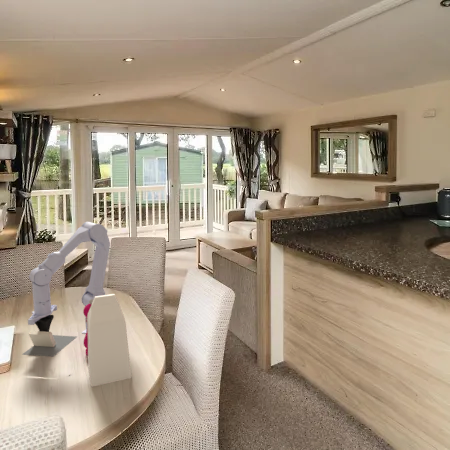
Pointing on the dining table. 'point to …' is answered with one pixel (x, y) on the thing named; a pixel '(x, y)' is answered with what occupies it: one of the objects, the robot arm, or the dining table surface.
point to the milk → (107, 342)
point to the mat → (50, 351)
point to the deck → (42, 338)
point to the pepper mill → (85, 311)
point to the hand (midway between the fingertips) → (44, 335)
